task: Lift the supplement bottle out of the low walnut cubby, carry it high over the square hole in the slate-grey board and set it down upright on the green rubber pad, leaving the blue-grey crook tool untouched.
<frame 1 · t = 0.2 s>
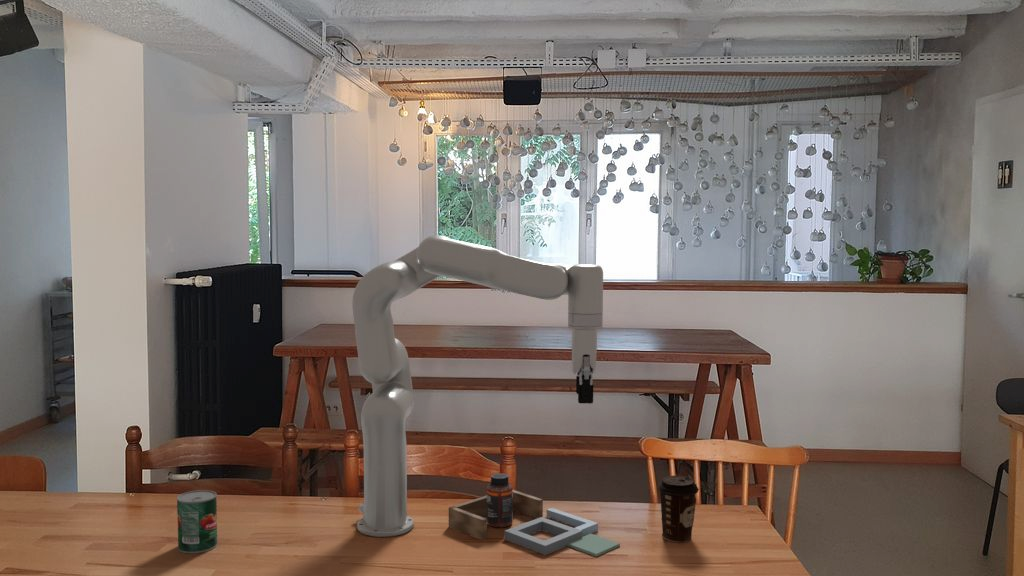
hand: (584, 398, 182), 31 cm above the table, tool pointing down, fingers open, 9 cm apart
coffee cup: (677, 538, 183), on the table
supplement bottle: (499, 524, 190), on the table
pad: (593, 546, 178), on the table
crook tool: (571, 523, 191), on the table
cubby: (498, 523, 191), on the table
hole board: (543, 539, 181), on the table
canned tomato: (198, 547, 176), on the table
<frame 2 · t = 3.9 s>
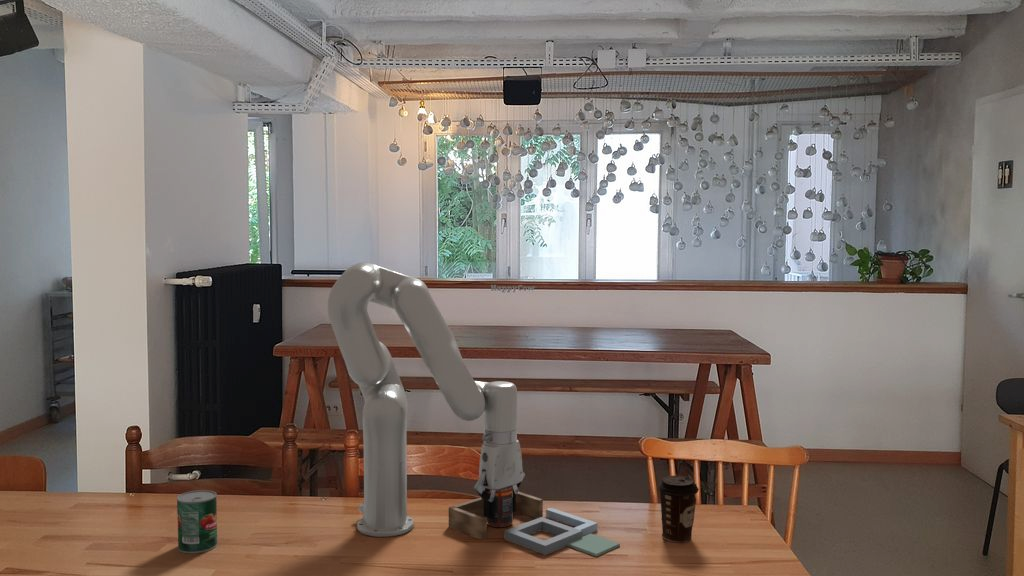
hand: (499, 512, 190), 3 cm above the table, tool pointing down, fingers closed on supplement bottle, 6 cm apart
supplement bottle: (499, 524, 190), on the table, touching gripper
everything else where it was.
when the fingers open (5 cm above the table, at t = 10.4 s): supplement bottle drops 1 cm, resting on pad.
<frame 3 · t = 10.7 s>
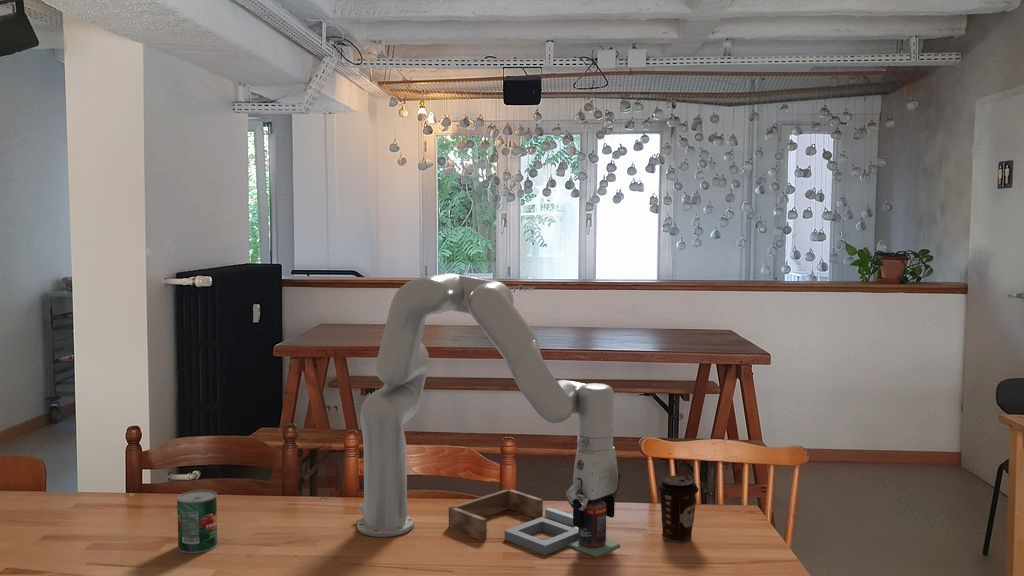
hand: (593, 521, 177), 5 cm above the table, tool pointing down, fingers open, 9 cm apart
supplement bottle: (592, 544, 178), resting on pad
everything else where it was.
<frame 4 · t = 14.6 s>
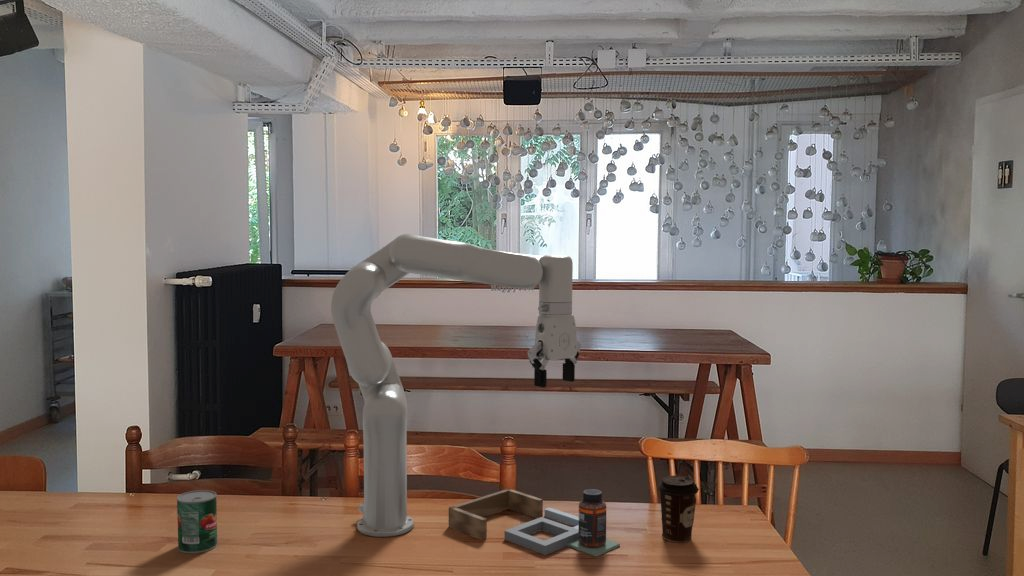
hand: (554, 383, 190), 32 cm above the table, tool pointing down, fingers open, 9 cm apart
crook tool: (569, 523, 191), on the table, touching hole board
everything else where it was.
at the end: supplement bottle inside the target area on the pad (0.3 cm from its centre), point 0.4 cm above the pad's base; supplement bottle tilted 0°; the gripper is holding nothing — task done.
